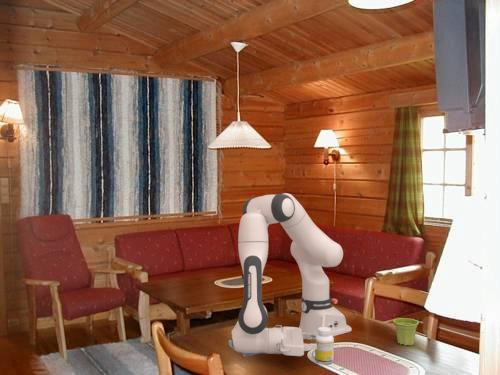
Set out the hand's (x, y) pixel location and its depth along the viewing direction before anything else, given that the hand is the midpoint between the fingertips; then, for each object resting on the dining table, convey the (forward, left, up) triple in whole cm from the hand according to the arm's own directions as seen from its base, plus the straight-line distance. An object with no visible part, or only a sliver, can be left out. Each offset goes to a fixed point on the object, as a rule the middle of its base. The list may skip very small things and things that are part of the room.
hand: (315, 341), depth 191 cm
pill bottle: (-3, +2, -7) cm, 8 cm away
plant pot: (-42, +1, -7) cm, 42 cm away
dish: (+14, -21, -7) cm, 27 cm away
